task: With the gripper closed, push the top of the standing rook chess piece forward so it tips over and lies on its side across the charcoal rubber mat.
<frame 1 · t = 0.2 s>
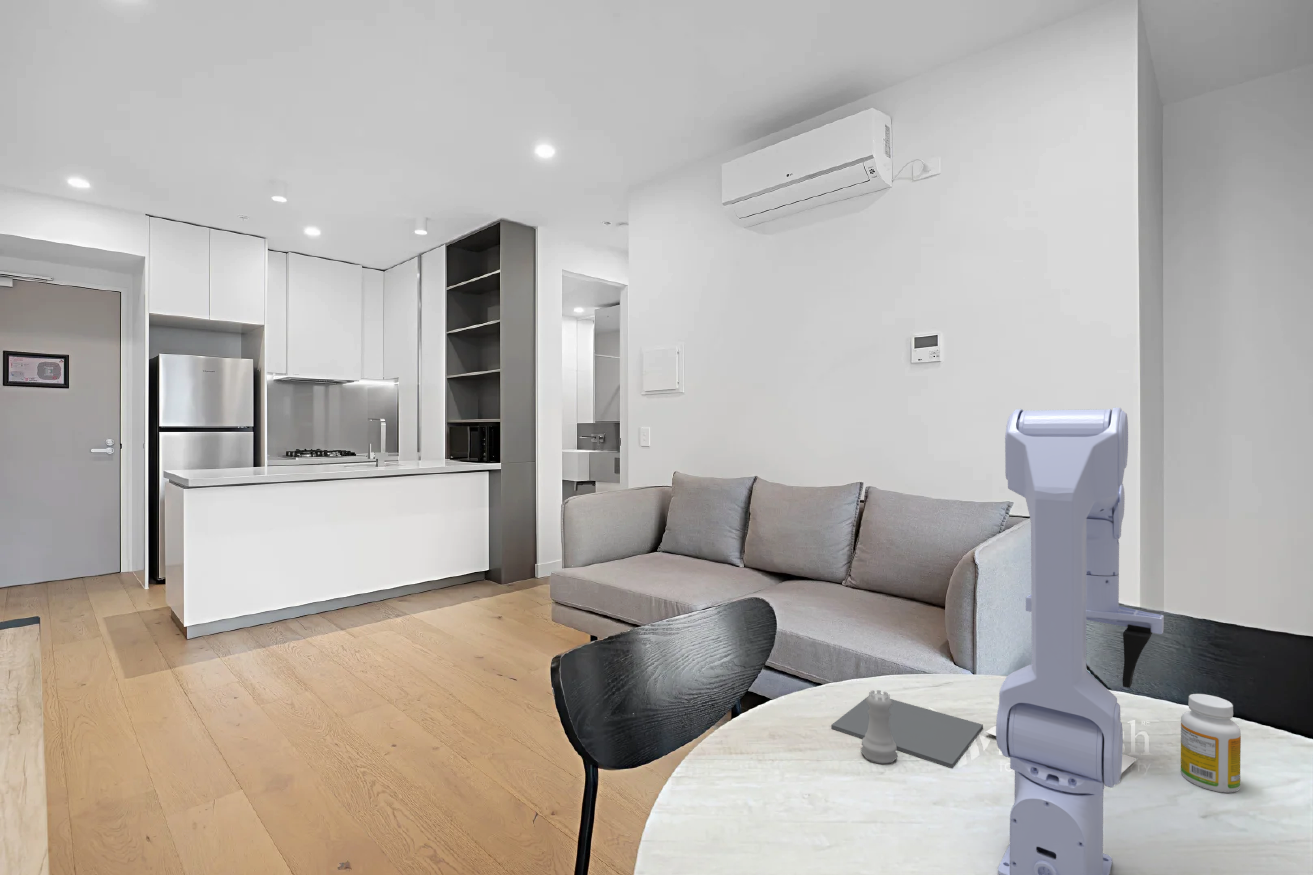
hand: (1090, 676, 82), 10 cm above the table, tool pointing down, fingers open, 7 cm apart
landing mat: (907, 728, 90), on the table
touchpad: (1057, 754, 84), on the table
supplement bottle: (1209, 782, 76), on the table
rook chess piece: (879, 757, 82), on the table
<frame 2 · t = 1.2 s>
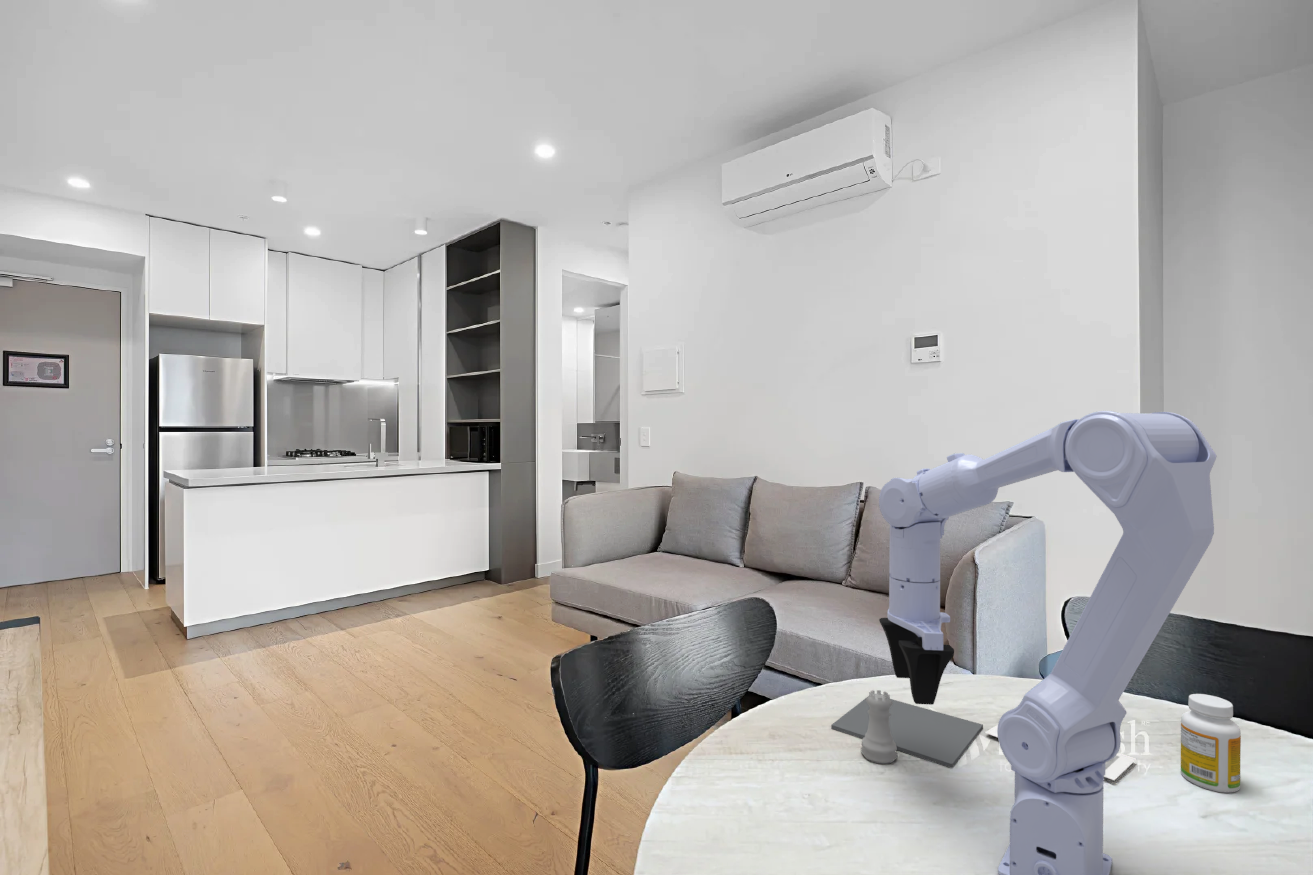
hand: (913, 689, 77), 10 cm above the table, tool pointing down, fingers open, 7 cm apart
nothing on the table moved.
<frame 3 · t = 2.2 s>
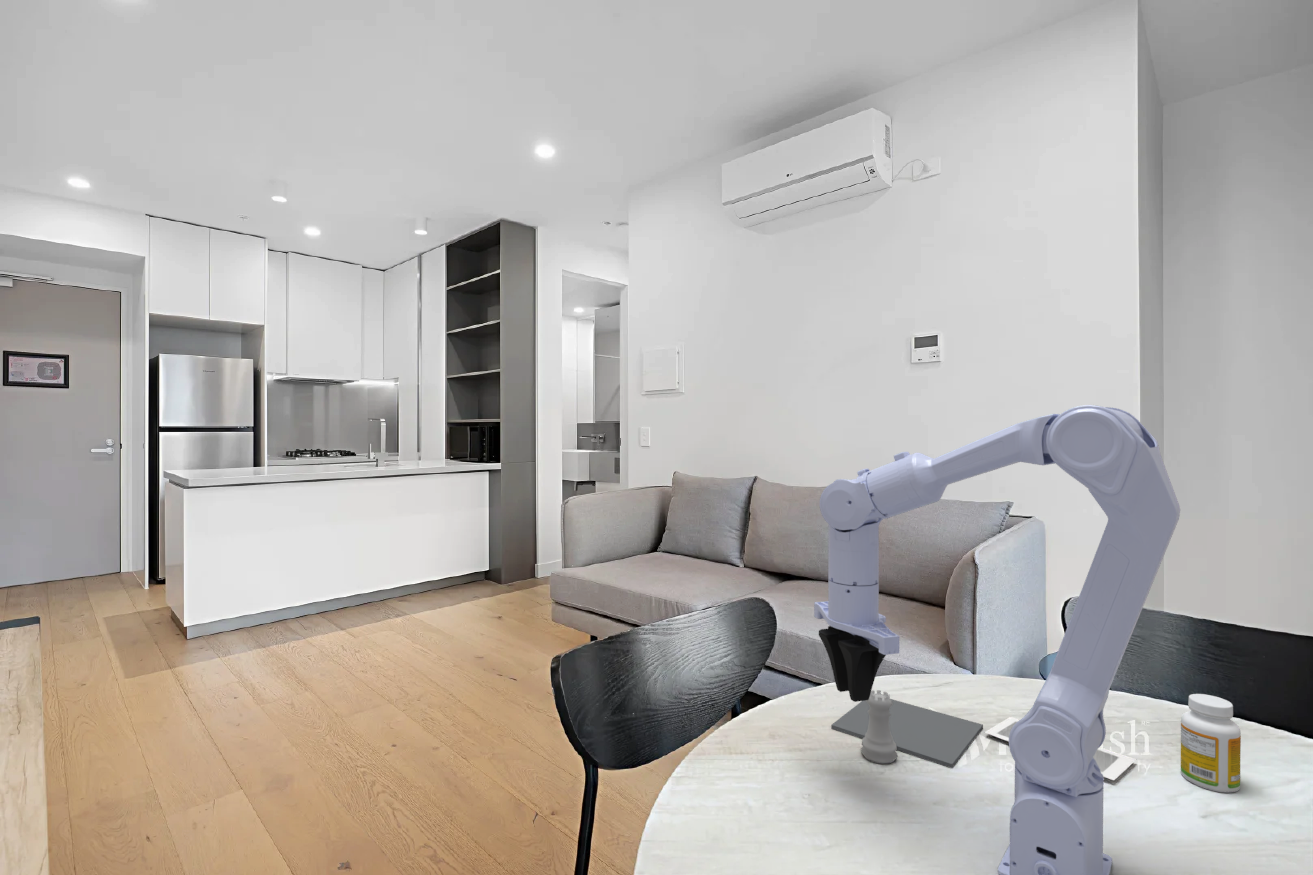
hand: (852, 694, 76), 10 cm above the table, tool pointing down, fingers closed
nothing on the table moved.
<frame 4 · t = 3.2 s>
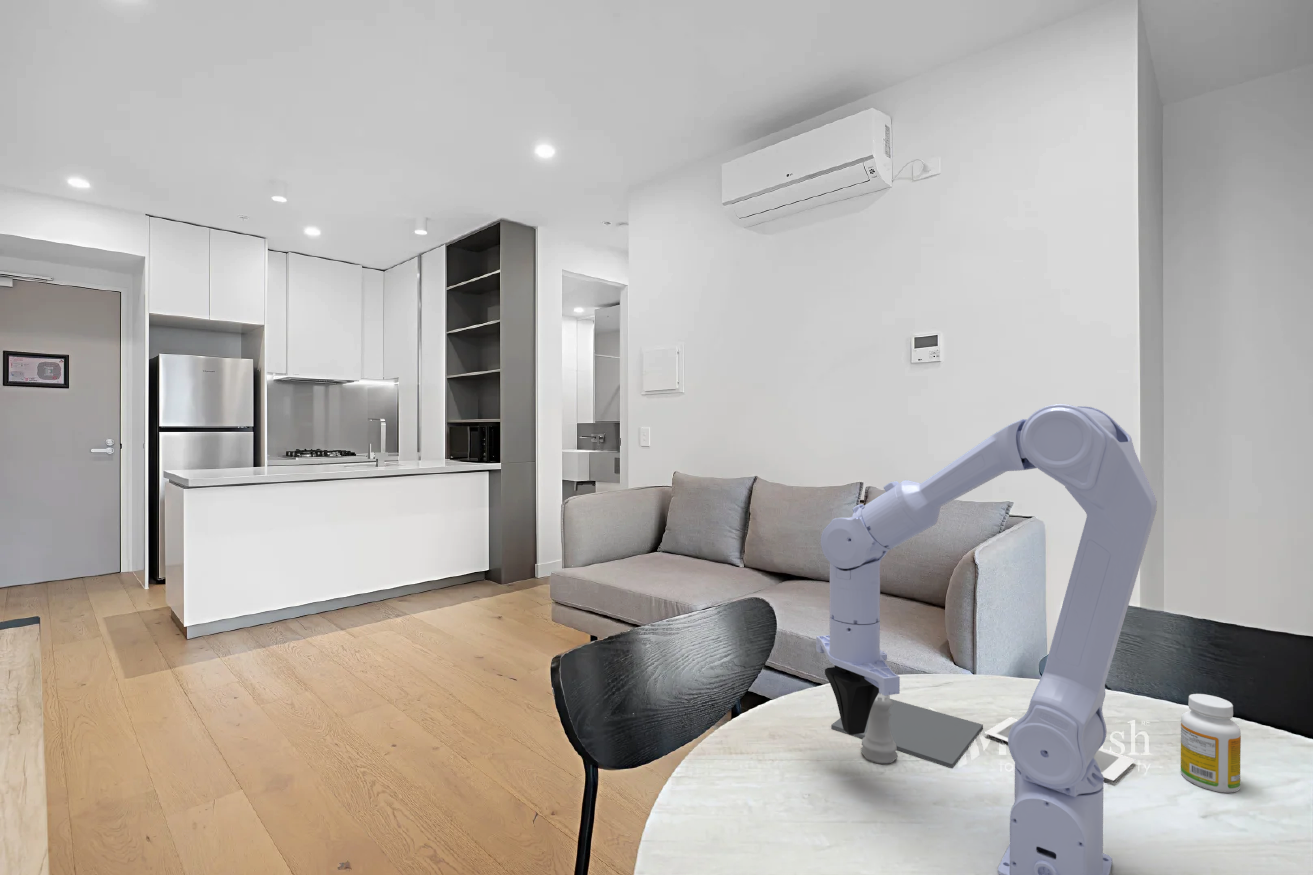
hand: (854, 731, 76), 6 cm above the table, tool pointing down, fingers closed
nothing on the table moved.
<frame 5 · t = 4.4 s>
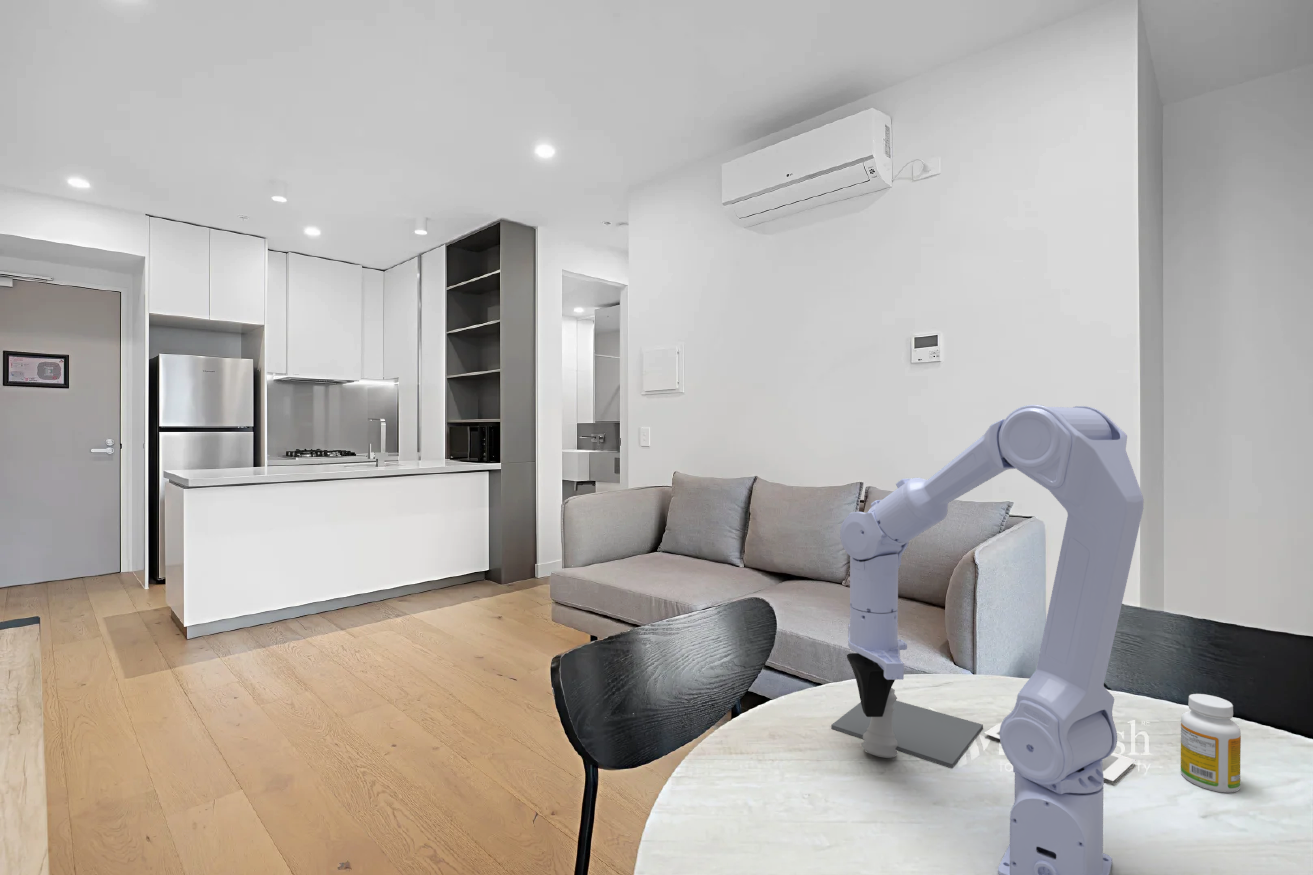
hand: (873, 714, 81), 6 cm above the table, tool pointing down, fingers closed
rook chess piece: (879, 753, 82), on the table, touching gripper
everything else where it was.
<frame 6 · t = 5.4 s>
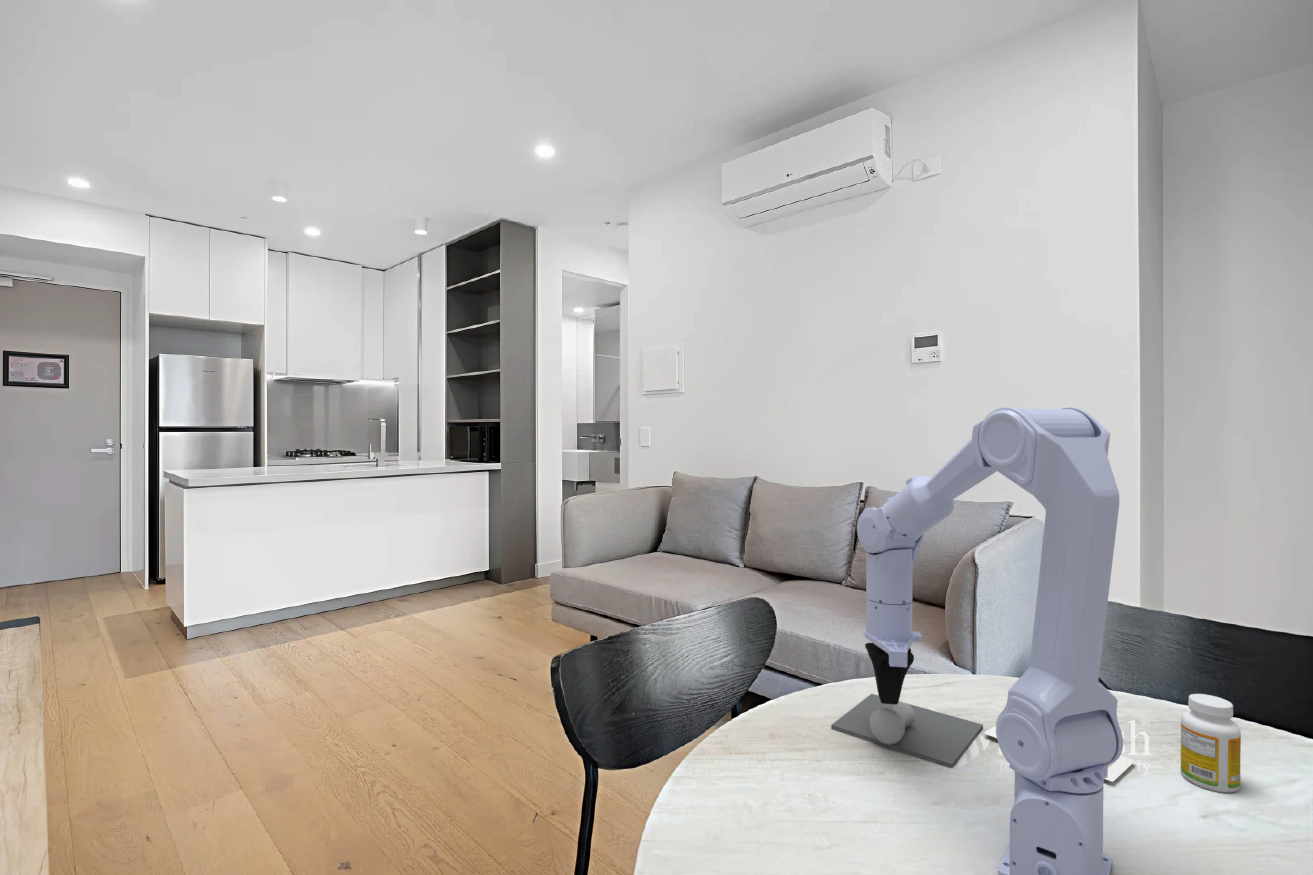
hand: (888, 701, 84), 6 cm above the table, tool pointing down, fingers closed
rook chess piece: (884, 727, 84), point 3 cm above the table, touching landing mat
everything else where it was.
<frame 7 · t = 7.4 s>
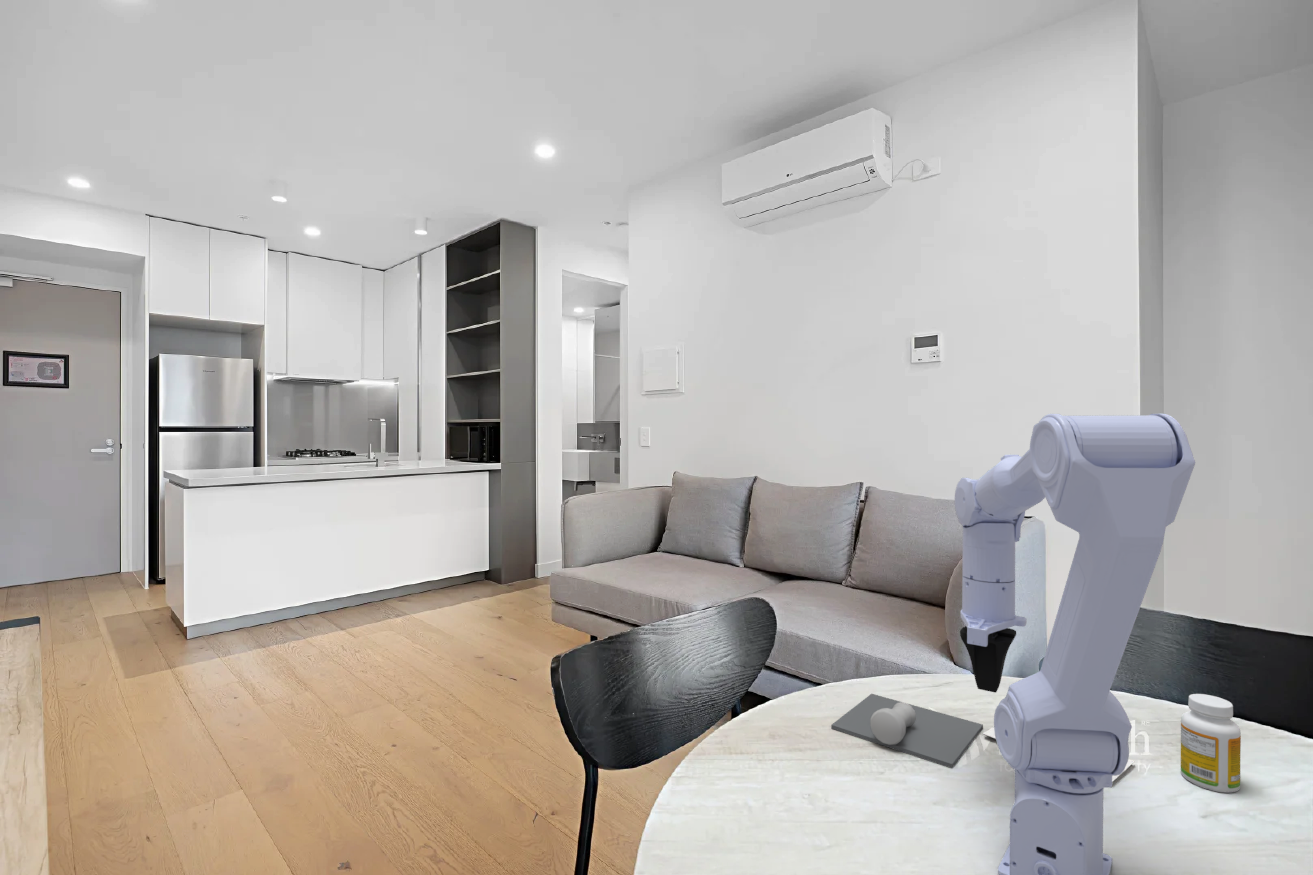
hand: (987, 688, 78), 10 cm above the table, tool pointing down, fingers closed
nothing on the table moved.
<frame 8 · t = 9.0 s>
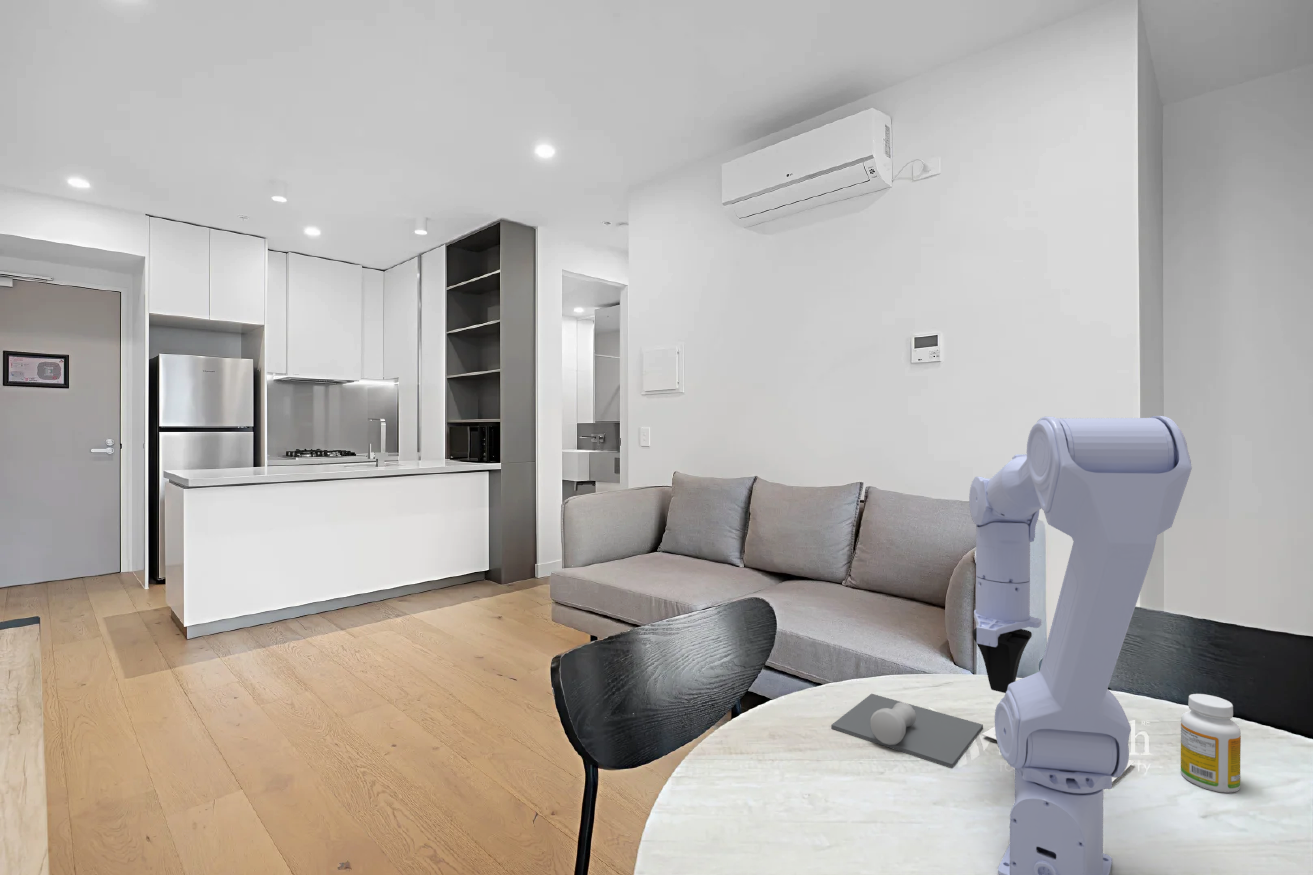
hand: (1001, 690, 77), 10 cm above the table, tool pointing down, fingers closed
nothing on the table moved.
at the end: rook chess piece tilted 95°; rook chess piece touching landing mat; rook chess piece inside the target area (3.0 cm from its centre), point 2.8 cm above the table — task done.
